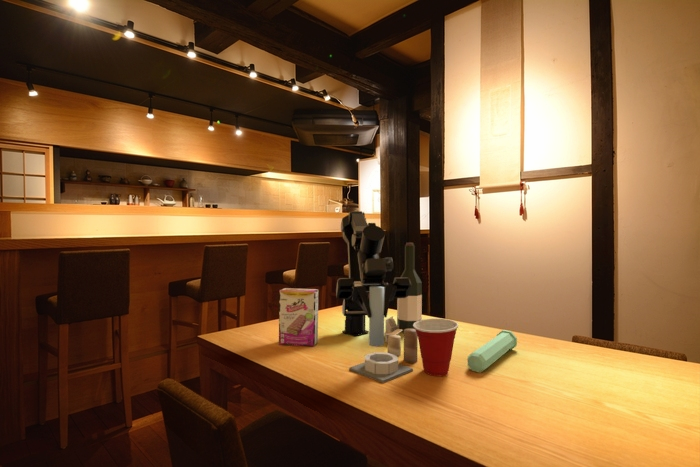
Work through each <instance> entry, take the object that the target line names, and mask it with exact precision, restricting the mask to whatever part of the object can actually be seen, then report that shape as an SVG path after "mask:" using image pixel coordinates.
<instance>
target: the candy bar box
mask: <svg viewBox="0 0 700 467" xmlns="http://www.w3.org/2000/svg"><path fill="white" fill-rule="evenodd" d="M278 293H279V295H278V296H279V298H278V300H279V301H278V302H279V303H278V304H279V305H278V313H279V314H278V315H279V316H278V345H282V346H283V345H285V346H301V347H303V346H305V347H315V346H316V345H315V344H318V341H319V289H316V288H296V287H295V288H294V287H293V288H291V287H290V288H289V287H284V288H282V289H279V292H278Z"/></svg>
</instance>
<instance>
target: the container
mask: <svg viewBox="0 0 700 467" xmlns="http://www.w3.org/2000/svg"><path fill="white" fill-rule="evenodd" d="M517 345H518V338H517V336H516V335H515V334H514V332H512V330H506V329H503V330H501V331H499V333H497V334H496V336H495V337H493V338H492V339H490V340H489V341H487V342H486V343H485V344H483V345H481V347H478V348H477V349H475V350H474V351H473V352H471V353H470V354H469V355H468V356H467V366H468V368H469V369H470V370H471V371H472V372H476V373H483V371H485V370H486V369H487V368H489V367H490V366H491V365H492V364H493V363H495V362H496V361H497V360H498V359H500V358H501V357H503V356H504V355H505V354H506V353H507V352H508V351H512V350H513V349H514V348H516V347H517ZM509 349H510V350H509Z"/></svg>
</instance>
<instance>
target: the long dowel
mask: <svg viewBox="0 0 700 467" xmlns="http://www.w3.org/2000/svg"><path fill="white" fill-rule="evenodd" d="M368 297H369V307H370V312H371V317H370V318H368V319H369V321H368V323H369V325H368V327H369V328H368V329H369V330H368V331H369V333H368V334H369V335H368V346H371V347H374V348H375V347H376V348H377V347H383V346H384V345H385V317H384V287H381V286H371V287H370V292H369V294H368Z"/></svg>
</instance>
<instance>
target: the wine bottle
mask: <svg viewBox="0 0 700 467" xmlns="http://www.w3.org/2000/svg"><path fill="white" fill-rule="evenodd" d="M415 256H416V246H415V244H414V242H406V244H405V245H404V270H403V272H402V273H401V275H400V277H399V278H409V279H410V281H411V288H410V291H409V294H408V297H406V298H396V299H397V300H396V301H397V302H396V303H397V304H396V307H397V310H396V312H397V313H396V314H397V316H396V324H397V325H398V329H402V331H401V332H400V333H403V334H404V329H415V328H414V327H413V324H414V323H415V322H417V321H420V320H423V319H422V317H423V316H422V314H423V313H422V311H423V310H422V308H423V307H422V306H423V303H422V302H423V301H422V300H423V294H422V293H423V292H422V291H423V289H422V287H423V284H422V283H423V282H422V280H421V278H420V276H419V275H418V274H417V271H416V269H415V266H416V265H415V262H416V258H415Z"/></svg>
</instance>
